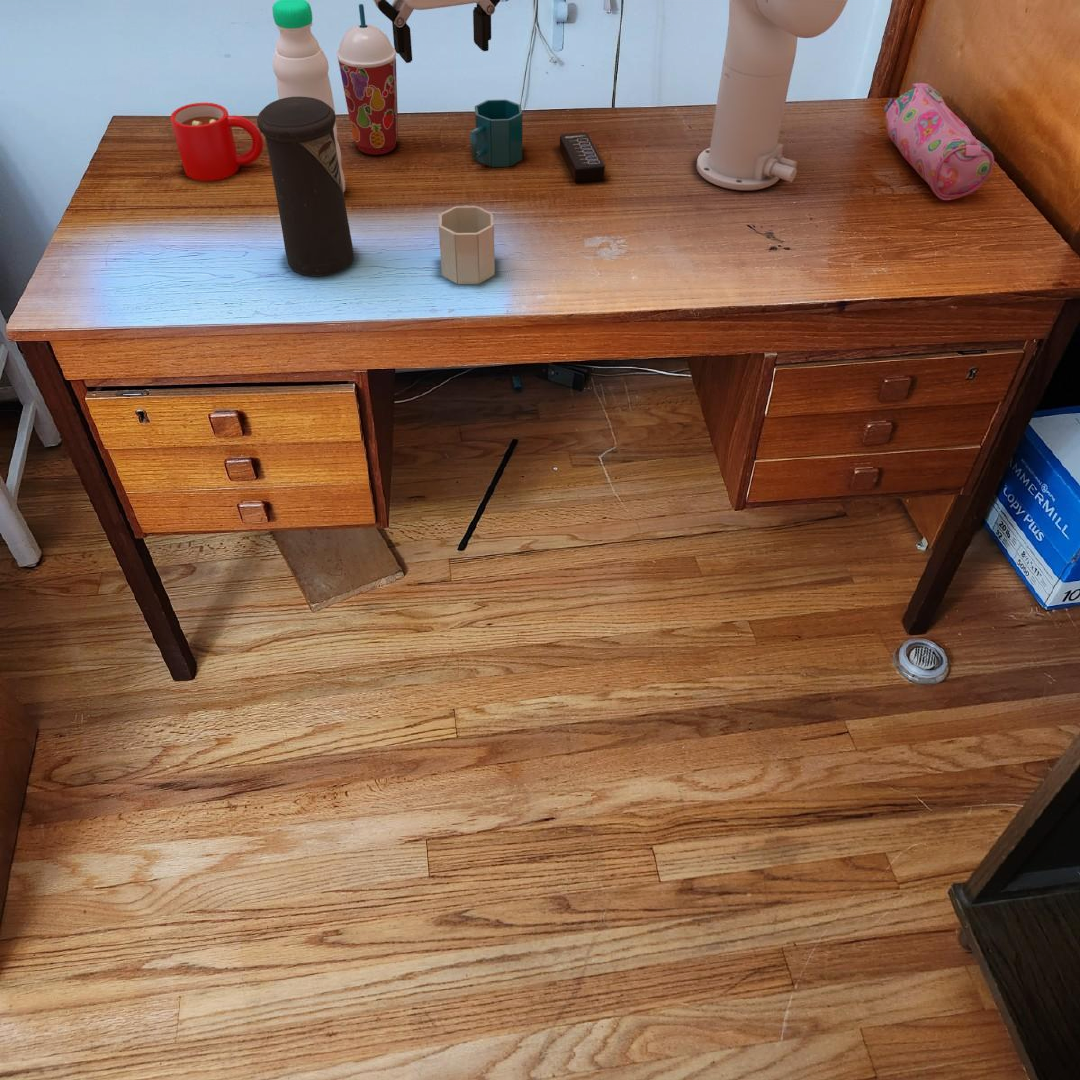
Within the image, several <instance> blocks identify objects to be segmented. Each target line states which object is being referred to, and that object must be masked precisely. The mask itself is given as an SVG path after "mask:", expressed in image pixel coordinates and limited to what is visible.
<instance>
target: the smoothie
mask: <svg viewBox="0 0 1080 1080" xmlns="http://www.w3.org/2000/svg"><path fill="white" fill-rule="evenodd" d="M358 13H359V20H360V21H359V22H360V24H357V25H354V26H353V27H351V28H349V29H348V30H347V31H346V32H345V34H344V35H343V37H342V39H341V41H340V44H339V48H338V50H337V51H336V58H337V63H338V66H339V72H340V77H341V81H342V88H343V92H344V98H345V104H346V108H347V113H348V119H349V124H350V129H351V134H352V140H353V142H354V143H355V144H356V145H357V148H358V150H359V151H360V152H362V153H364V154H366V155H372V156H377V155H384V154H387V153H390V152H392V151H393V150H394V149H395V148H396V145H397V144H396V143H397V141H398V139H399V114H398V82H397V79H398V77H397V58H396V56H397V53H396V51H395V48H394V46H393V45H392V43H391V41H390V39H389V38H388V36H387V34H385V33H384V32H383V31H382V30H381V28H378V27H376V26H374V25H371V24H366V17H365V16H366V15H365V7H364V4H363V3H359V4H358Z"/></svg>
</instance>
